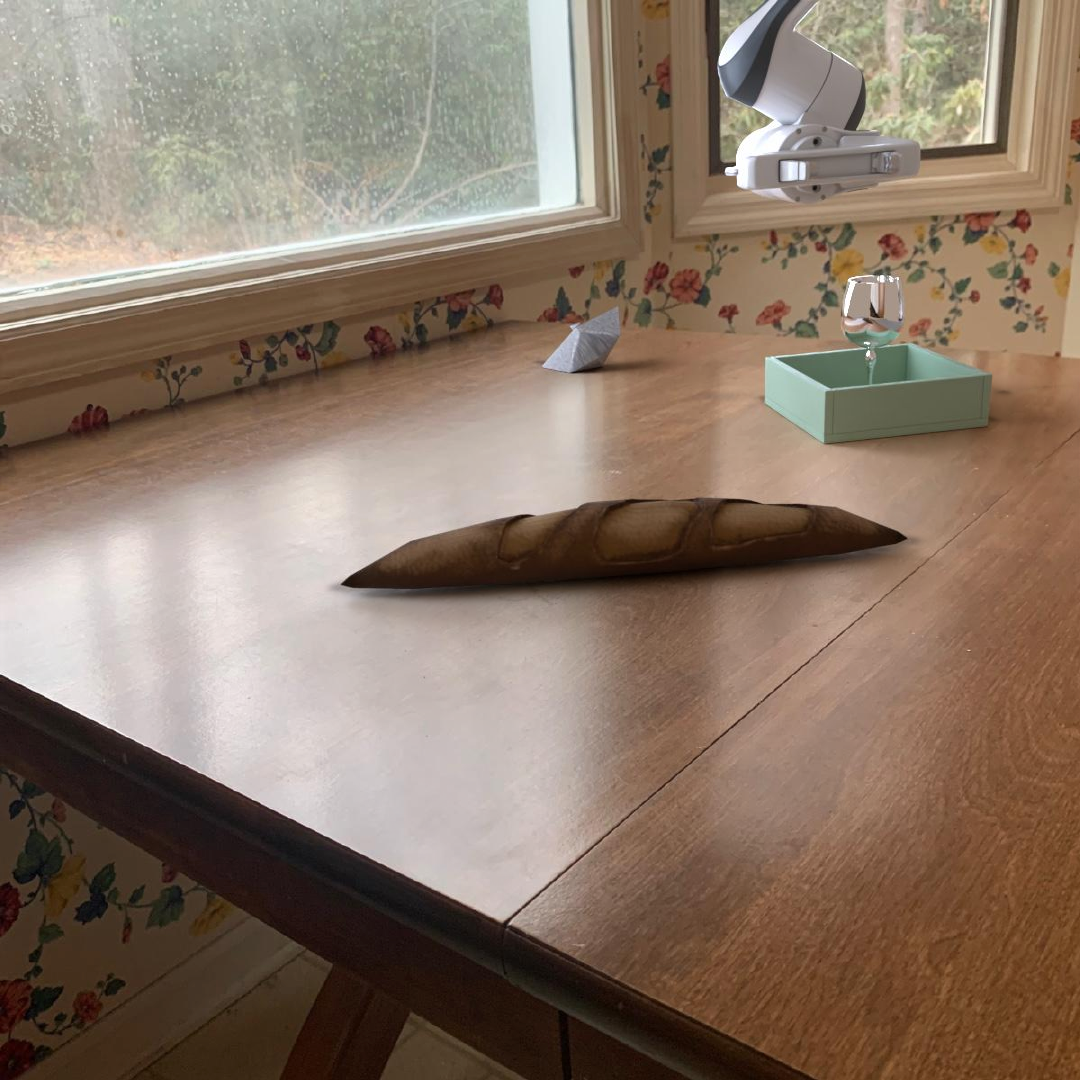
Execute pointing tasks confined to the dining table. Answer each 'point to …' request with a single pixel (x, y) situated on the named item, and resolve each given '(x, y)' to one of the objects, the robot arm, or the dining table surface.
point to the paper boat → (587, 344)
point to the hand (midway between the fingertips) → (854, 167)
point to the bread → (623, 542)
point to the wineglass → (872, 314)
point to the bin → (877, 393)
